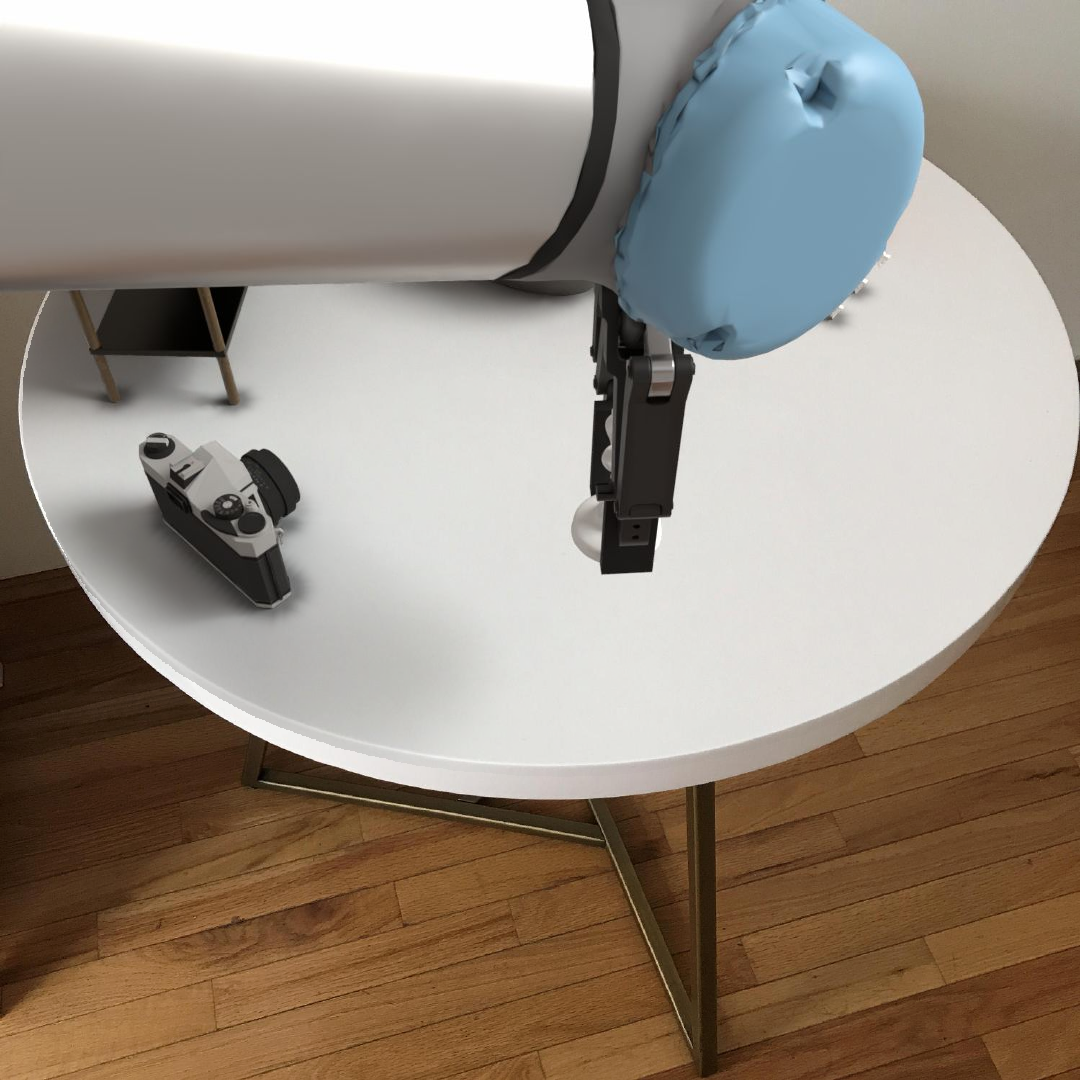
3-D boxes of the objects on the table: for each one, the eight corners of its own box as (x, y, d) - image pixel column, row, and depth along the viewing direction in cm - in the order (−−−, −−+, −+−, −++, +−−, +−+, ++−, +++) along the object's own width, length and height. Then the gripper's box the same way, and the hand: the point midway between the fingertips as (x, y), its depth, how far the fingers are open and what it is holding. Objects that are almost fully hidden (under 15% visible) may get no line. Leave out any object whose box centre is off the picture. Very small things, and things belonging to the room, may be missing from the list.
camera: (356, 553, 79) (332, 454, 72) (267, 622, 75) (233, 524, 68) (237, 473, 85) (205, 375, 78) (150, 532, 81) (108, 435, 75)
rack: (238, 405, 88) (198, 260, 78) (109, 402, 88) (52, 257, 78) (297, 209, 105) (270, 68, 95) (188, 207, 105) (150, 67, 95)
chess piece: (552, 527, 63) (556, 390, 56) (618, 485, 65) (630, 347, 58) (614, 581, 61) (626, 444, 53) (680, 535, 63) (701, 398, 55)
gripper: (797, 269, 40) (715, 660, 57) (710, 25, 51) (665, 412, 69) (579, 277, 39) (564, 668, 57) (542, 30, 51) (539, 418, 69)
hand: (619, 527), depth 63 cm, fingers closed on chess piece, 5 cm apart
